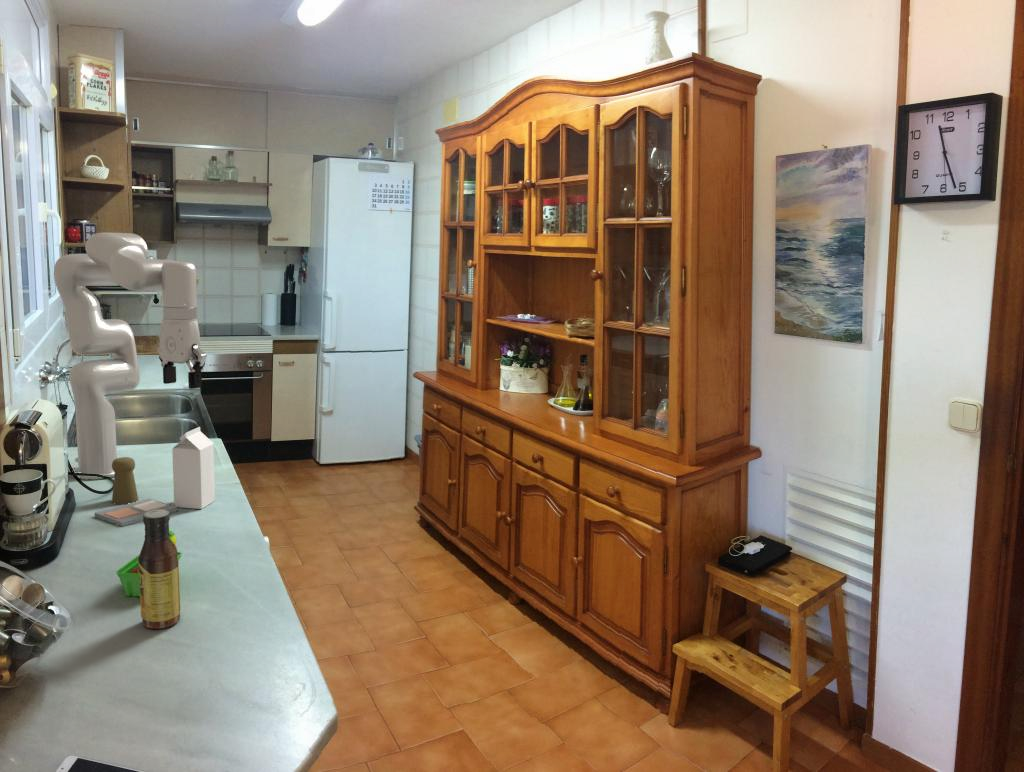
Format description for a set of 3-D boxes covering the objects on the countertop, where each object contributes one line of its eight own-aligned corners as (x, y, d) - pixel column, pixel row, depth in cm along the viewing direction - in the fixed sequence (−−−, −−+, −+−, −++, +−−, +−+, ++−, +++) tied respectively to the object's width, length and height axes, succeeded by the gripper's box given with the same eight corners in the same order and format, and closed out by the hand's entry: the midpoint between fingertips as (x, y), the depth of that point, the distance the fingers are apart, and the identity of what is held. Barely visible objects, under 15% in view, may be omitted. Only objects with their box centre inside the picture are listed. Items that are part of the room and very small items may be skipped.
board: (94, 516, 188) (94, 511, 188) (149, 502, 200) (149, 497, 199) (122, 526, 182) (122, 521, 182) (176, 511, 194) (176, 506, 194)
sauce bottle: (149, 614, 140) (144, 505, 137) (186, 614, 141) (182, 505, 138) (135, 632, 134) (129, 518, 131) (173, 632, 134) (169, 518, 131)
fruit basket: (145, 574, 157) (143, 519, 155) (190, 576, 157) (188, 521, 155) (115, 599, 146) (112, 540, 144) (163, 601, 146) (161, 542, 144)
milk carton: (215, 501, 203) (213, 427, 199) (201, 509, 196) (199, 433, 192) (188, 499, 203) (186, 425, 200) (174, 507, 196) (171, 432, 193)
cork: (144, 499, 202) (142, 456, 200) (125, 506, 196) (123, 462, 194) (125, 496, 204) (123, 454, 202) (106, 502, 198) (103, 459, 196)
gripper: (143, 312, 191) (146, 383, 194) (189, 318, 182) (191, 392, 185) (171, 311, 198) (174, 379, 200) (217, 316, 188) (218, 388, 191)
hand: (182, 385), depth 193 cm, fingers open, 9 cm apart
